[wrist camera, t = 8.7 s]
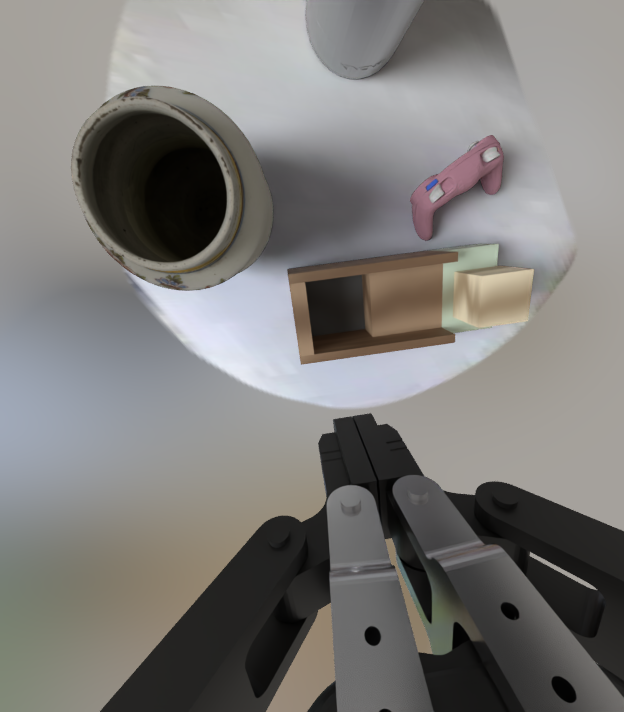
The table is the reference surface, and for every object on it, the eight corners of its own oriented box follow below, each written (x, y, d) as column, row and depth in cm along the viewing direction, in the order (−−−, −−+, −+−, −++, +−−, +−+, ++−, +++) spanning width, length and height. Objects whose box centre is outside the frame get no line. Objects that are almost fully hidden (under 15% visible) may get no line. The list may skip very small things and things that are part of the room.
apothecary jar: (226, 295, 36) (176, 340, 19) (136, 216, 33) (-22, 186, 16) (298, 215, 34) (310, 186, 17) (209, 121, 31) (114, -32, 14)
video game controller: (473, 163, 35) (498, 113, 28) (498, 193, 34) (530, 149, 28) (398, 216, 36) (405, 181, 30) (422, 247, 36) (434, 218, 29)
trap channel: (287, 269, 36) (287, 274, 29) (476, 243, 37) (518, 243, 30) (298, 344, 39) (300, 364, 32) (472, 319, 40) (509, 334, 33)
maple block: (454, 271, 33) (482, 276, 29) (499, 265, 34) (534, 269, 29) (452, 317, 35) (478, 328, 30) (495, 310, 35) (527, 320, 31)
